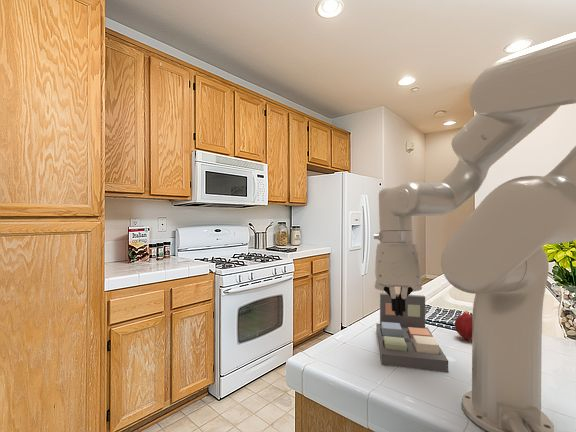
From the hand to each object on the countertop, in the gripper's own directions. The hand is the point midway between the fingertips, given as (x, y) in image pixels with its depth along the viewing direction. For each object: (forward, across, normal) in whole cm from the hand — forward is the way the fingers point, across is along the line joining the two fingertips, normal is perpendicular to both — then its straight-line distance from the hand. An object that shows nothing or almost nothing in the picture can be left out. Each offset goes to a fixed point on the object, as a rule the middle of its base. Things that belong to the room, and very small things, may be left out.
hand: (398, 314), depth 73 cm
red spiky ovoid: (+11, +19, +16) cm, 27 cm away
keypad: (+10, +2, +6) cm, 12 cm away
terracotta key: (+9, +6, +9) cm, 14 cm away
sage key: (+9, -1, +1) cm, 9 cm away
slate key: (+8, -1, +9) cm, 12 cm away
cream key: (+9, +6, +1) cm, 11 cm away
